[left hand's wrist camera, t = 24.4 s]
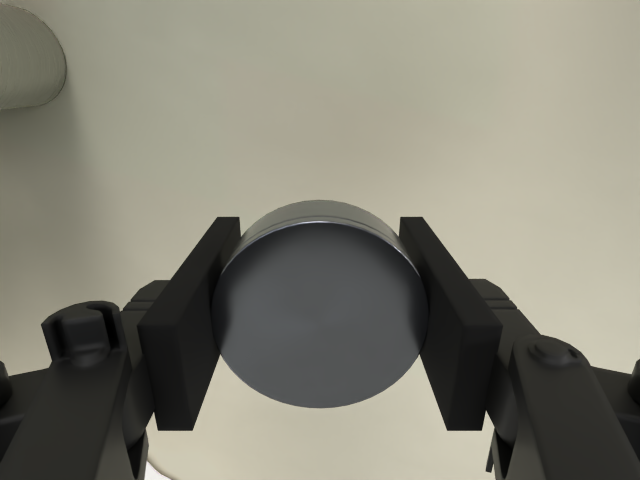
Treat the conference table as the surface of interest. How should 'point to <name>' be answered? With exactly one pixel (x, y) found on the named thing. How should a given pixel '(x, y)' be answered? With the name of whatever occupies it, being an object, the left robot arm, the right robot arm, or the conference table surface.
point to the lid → (319, 306)
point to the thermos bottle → (28, 60)
